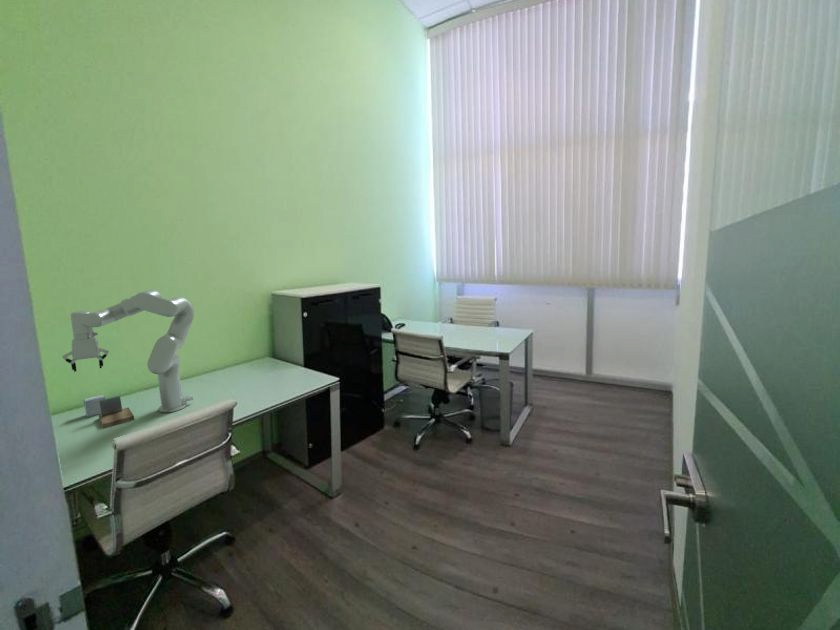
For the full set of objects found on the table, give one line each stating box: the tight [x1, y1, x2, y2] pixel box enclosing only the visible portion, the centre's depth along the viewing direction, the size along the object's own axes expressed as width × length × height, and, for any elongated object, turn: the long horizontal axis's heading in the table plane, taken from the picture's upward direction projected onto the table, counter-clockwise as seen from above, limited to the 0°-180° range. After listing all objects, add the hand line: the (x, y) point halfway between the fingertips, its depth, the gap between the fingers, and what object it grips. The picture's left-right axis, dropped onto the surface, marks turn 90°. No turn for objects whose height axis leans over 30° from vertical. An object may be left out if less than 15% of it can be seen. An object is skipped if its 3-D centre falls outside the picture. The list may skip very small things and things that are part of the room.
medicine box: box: [82, 394, 106, 418], centre depth 192 cm, size 8×4×9 cm, turn 141°
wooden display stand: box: [98, 395, 135, 429], centre depth 186 cm, size 12×14×10 cm
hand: (88, 369), depth 188 cm, fingers open, 9 cm apart
